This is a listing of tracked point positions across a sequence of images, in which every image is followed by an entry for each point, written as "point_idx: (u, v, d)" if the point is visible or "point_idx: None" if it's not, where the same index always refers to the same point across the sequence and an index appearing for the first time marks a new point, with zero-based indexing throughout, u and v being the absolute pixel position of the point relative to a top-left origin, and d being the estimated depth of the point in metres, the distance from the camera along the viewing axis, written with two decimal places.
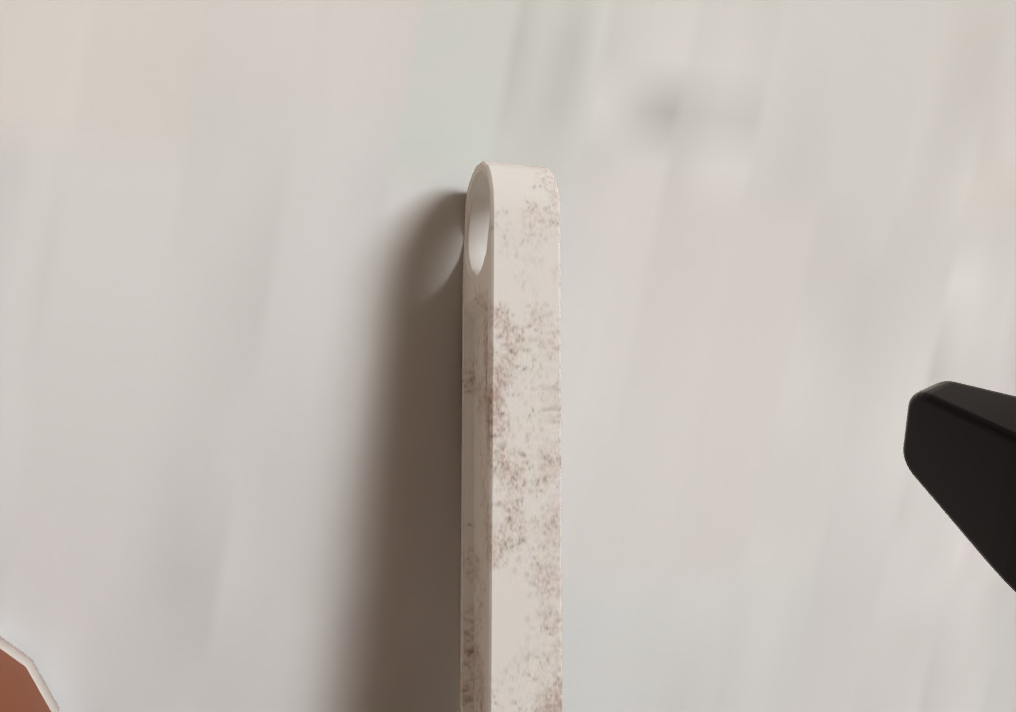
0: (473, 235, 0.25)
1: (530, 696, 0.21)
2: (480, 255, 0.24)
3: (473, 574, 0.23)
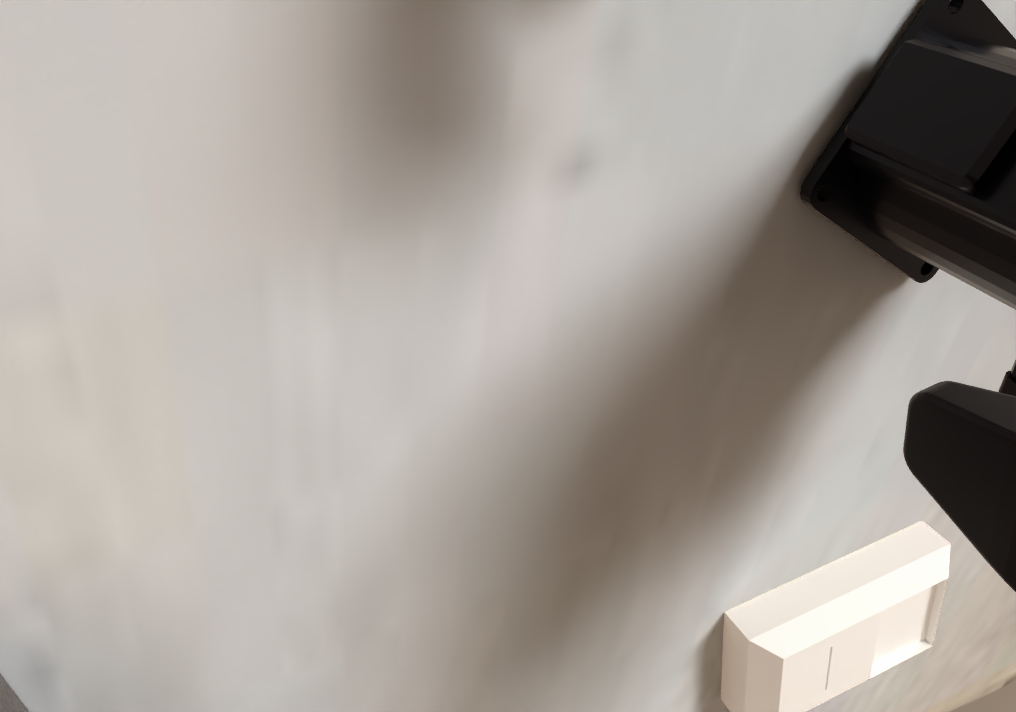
0: None
1: None
2: None
3: None
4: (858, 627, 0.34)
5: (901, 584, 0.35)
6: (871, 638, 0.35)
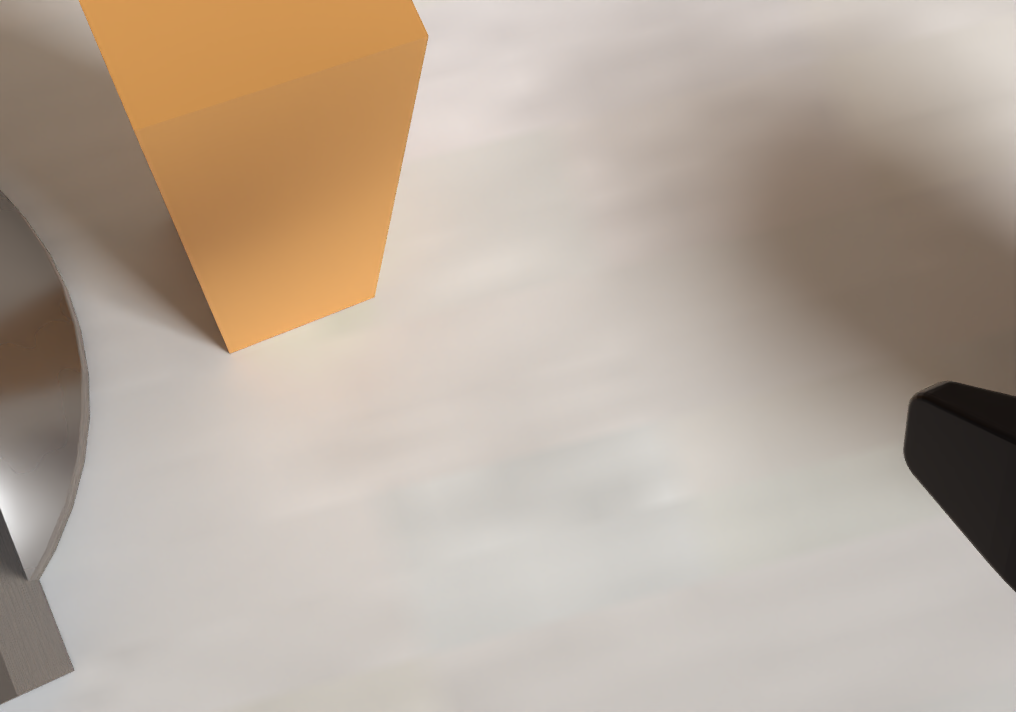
0: None
1: None
2: None
3: None
4: None
5: None
6: None
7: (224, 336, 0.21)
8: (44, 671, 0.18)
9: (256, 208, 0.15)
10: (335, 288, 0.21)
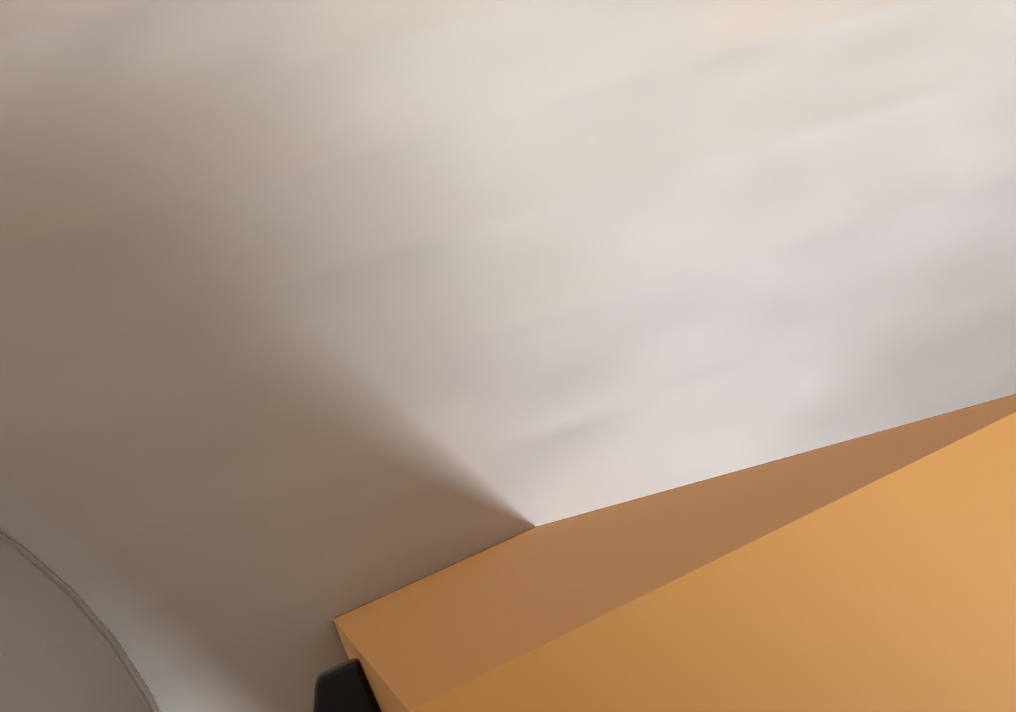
0: None
1: None
2: None
3: None
4: None
5: None
6: None
7: None
8: None
9: None
10: None
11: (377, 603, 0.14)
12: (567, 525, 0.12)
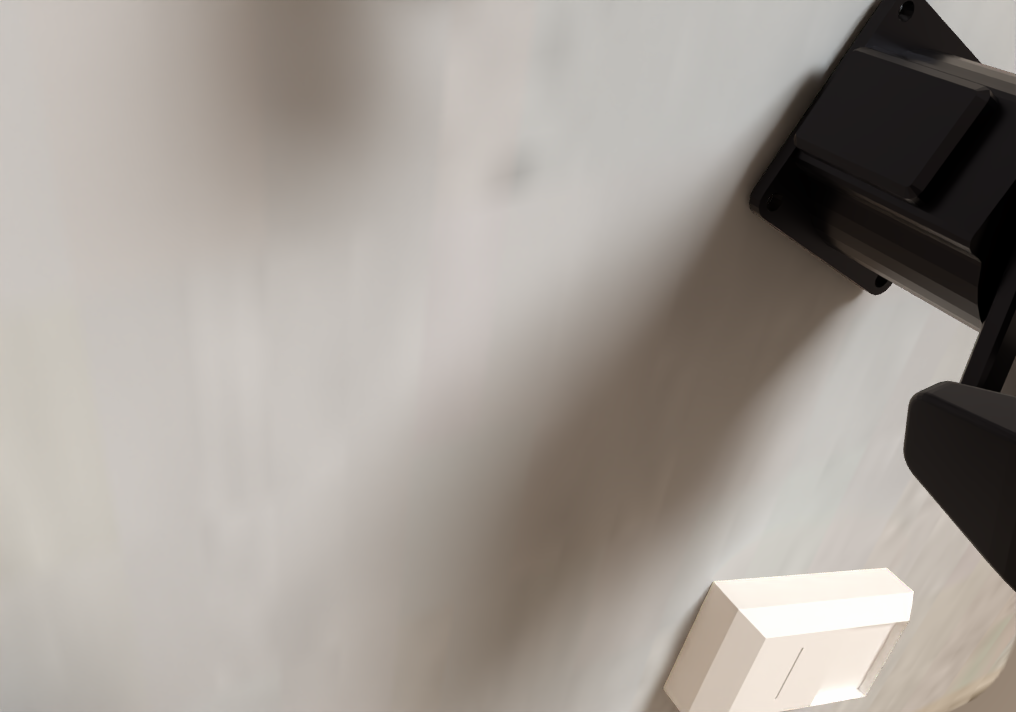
0: None
1: None
2: None
3: None
4: (829, 637, 0.34)
5: (871, 611, 0.35)
6: (832, 656, 0.35)
7: None
8: None
9: None
10: None
11: None
12: None
